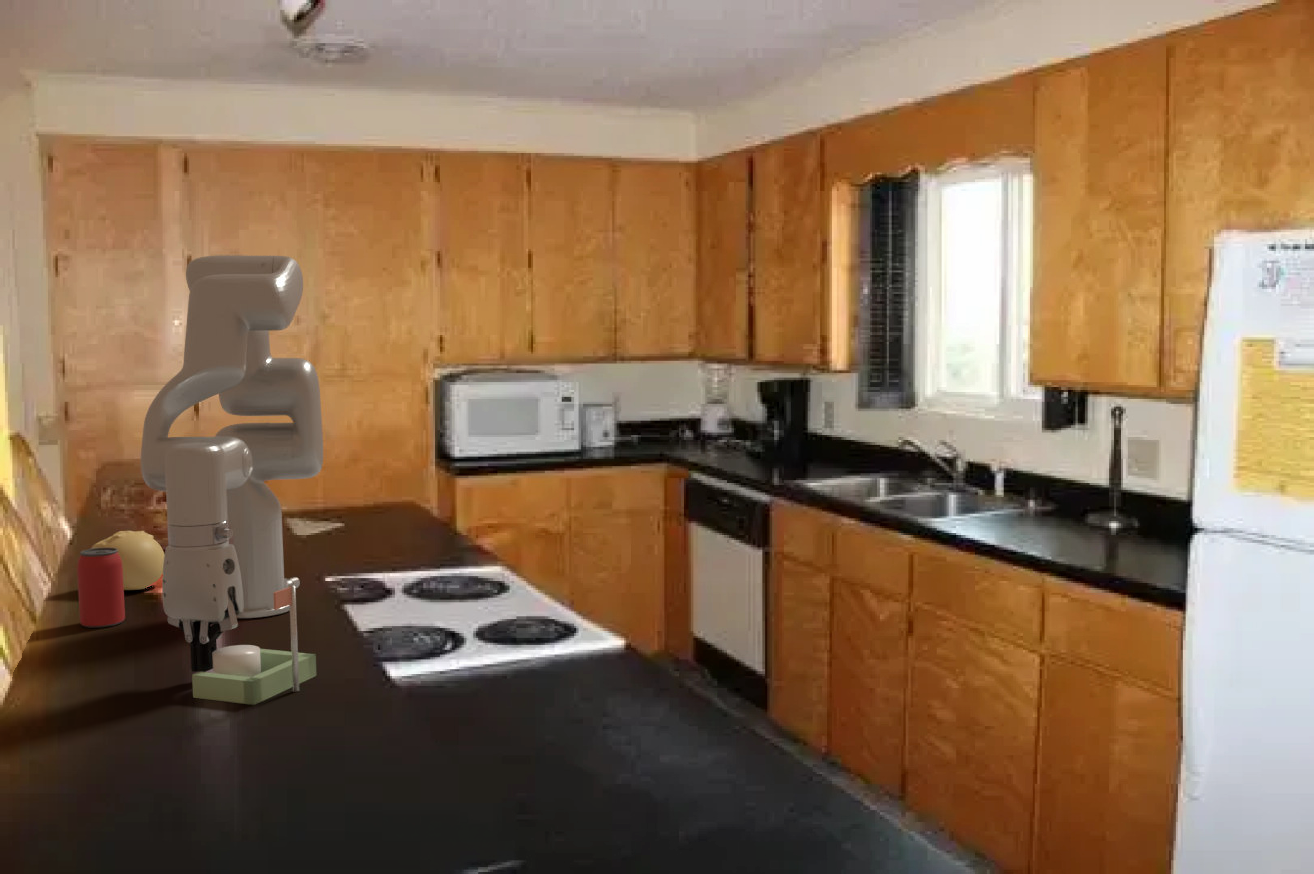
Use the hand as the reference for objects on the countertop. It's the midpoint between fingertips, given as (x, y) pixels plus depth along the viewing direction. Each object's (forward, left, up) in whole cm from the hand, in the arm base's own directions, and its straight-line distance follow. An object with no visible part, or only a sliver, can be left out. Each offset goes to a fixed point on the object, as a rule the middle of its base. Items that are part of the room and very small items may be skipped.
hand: (204, 669), depth 158 cm
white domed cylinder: (0, +5, -2) cm, 5 cm away
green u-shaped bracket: (0, +9, -2) cm, 9 cm away
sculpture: (-42, -52, -2) cm, 67 cm away
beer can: (-20, -37, -2) cm, 43 cm away
